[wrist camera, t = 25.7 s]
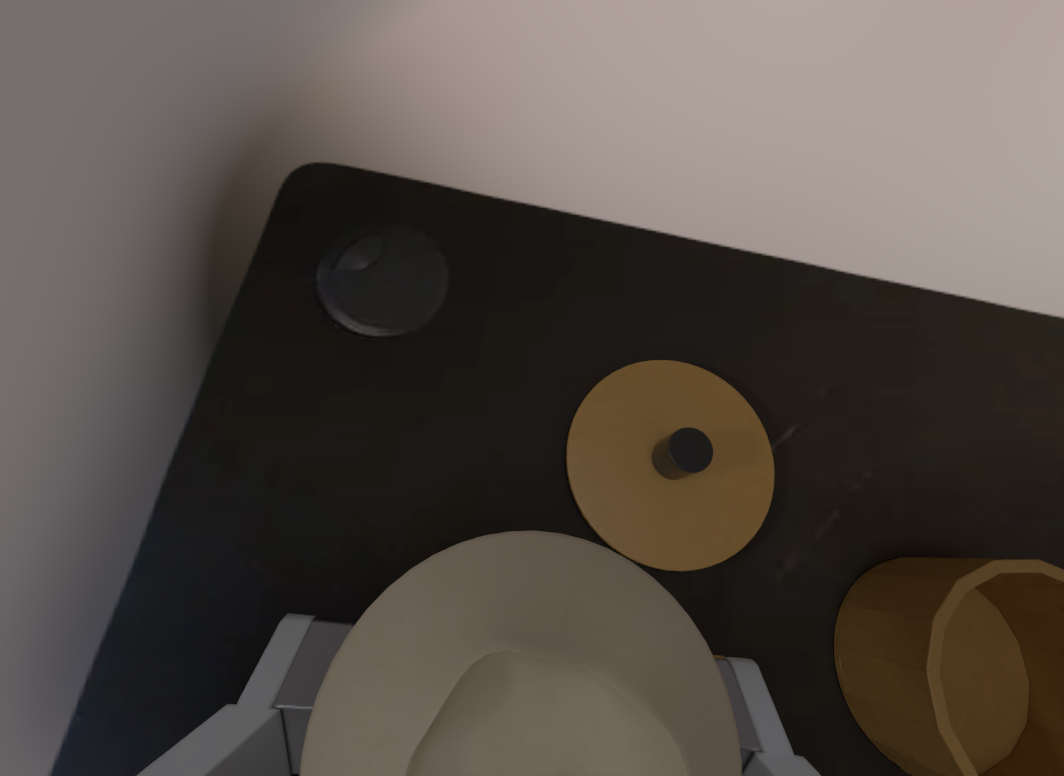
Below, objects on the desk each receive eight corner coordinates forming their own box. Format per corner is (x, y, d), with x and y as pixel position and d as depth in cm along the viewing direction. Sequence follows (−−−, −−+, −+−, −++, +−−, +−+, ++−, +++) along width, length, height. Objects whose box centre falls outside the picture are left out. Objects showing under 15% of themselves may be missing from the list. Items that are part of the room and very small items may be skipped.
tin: (1056, 779, 27) (1224, 848, 21) (855, 788, 26) (967, 862, 20) (998, 556, 30) (1127, 558, 24) (817, 557, 30) (903, 560, 23)
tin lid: (779, 569, 29) (824, 572, 25) (567, 572, 28) (579, 575, 24) (750, 367, 33) (785, 342, 29) (561, 363, 32) (571, 338, 28)
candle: (393, 565, 15) (221, 593, 5) (575, 521, 16) (709, 478, 6) (424, 783, 13) (264, 1366, 4) (625, 723, 14) (906, 1081, 5)
